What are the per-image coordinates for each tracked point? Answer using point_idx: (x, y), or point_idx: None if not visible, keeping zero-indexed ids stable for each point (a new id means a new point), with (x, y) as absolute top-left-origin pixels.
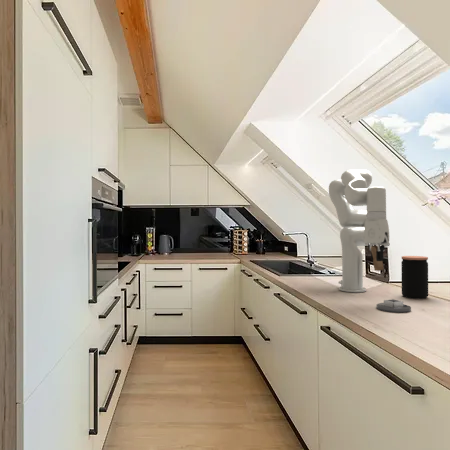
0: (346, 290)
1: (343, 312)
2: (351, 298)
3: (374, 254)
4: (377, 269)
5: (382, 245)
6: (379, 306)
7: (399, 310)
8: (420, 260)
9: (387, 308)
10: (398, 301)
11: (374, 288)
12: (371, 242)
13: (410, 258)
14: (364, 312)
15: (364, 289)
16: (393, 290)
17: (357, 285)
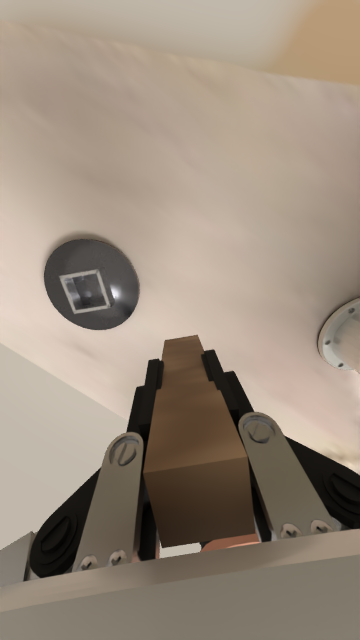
0: (352, 302)
1: (58, 64)
2: (261, 257)
3: (181, 389)
4: (174, 340)
5: (40, 557)
6: (88, 242)
7: (46, 274)
8: (202, 547)
9: (59, 248)
10: (87, 308)
11: (342, 400)
12: (210, 587)
13: (226, 542)
14: (57, 162)
15: (325, 355)
16: (296, 422)
17: (345, 341)
